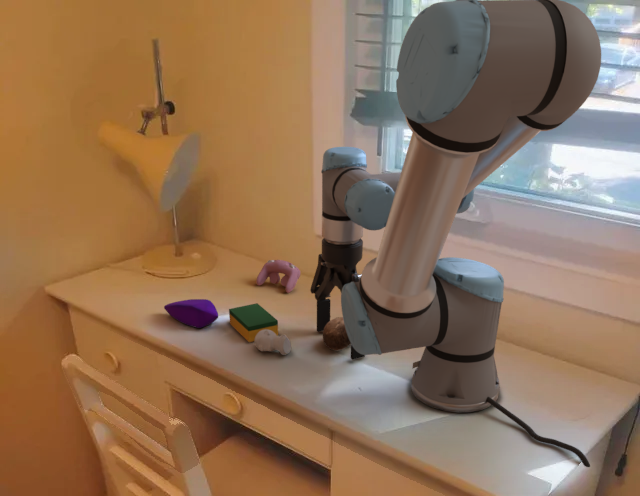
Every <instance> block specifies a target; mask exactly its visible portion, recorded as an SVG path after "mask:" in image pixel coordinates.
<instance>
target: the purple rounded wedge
mask: <svg viewBox="0 0 640 496" xmlns="http://www.w3.org/2000/svg"><path fill="white" fill-rule="evenodd" d="M163 309H164V310H165V311H166V312H167V313H168V314H169V315H170V317H172V318H173V319H175V320H176V321H178V322H180V323H182V324H184V325H186V326H188V327H193V328H197V329H201V328H205V327H208V326H209V325H211V324H212V323H214V322H215V321H217V320H218V319H219V313H218V311H217V308H216V306H215V305H214V303H213V302H212V301H211V300H209V299H204V298H201V299H200V298H198V299H197V298H194V299H193V298H192V299H191V298H190V299H184V300H179V301H174V302H171V303H167V304H165V305H164V306H163Z"/></svg>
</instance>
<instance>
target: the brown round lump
mask: <svg viewBox="0 0 640 496" xmlns="http://www.w3.org/2000/svg"><path fill="white" fill-rule="evenodd" d="M322 341H323V343H324V345H325V346H326V347H327V348H328V349H330V350H332V351H335V352H336V351H342V350H344V349H346V348H349V346H351V342H350V340H349V337H348V335H347V332H346V328H345V324H344V320H343V316H342V317H341V316H340V317H335V318H332V319H330V321H329V322H328V323H327V324H326V326H325V327H324V330H323V331H322Z"/></svg>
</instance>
